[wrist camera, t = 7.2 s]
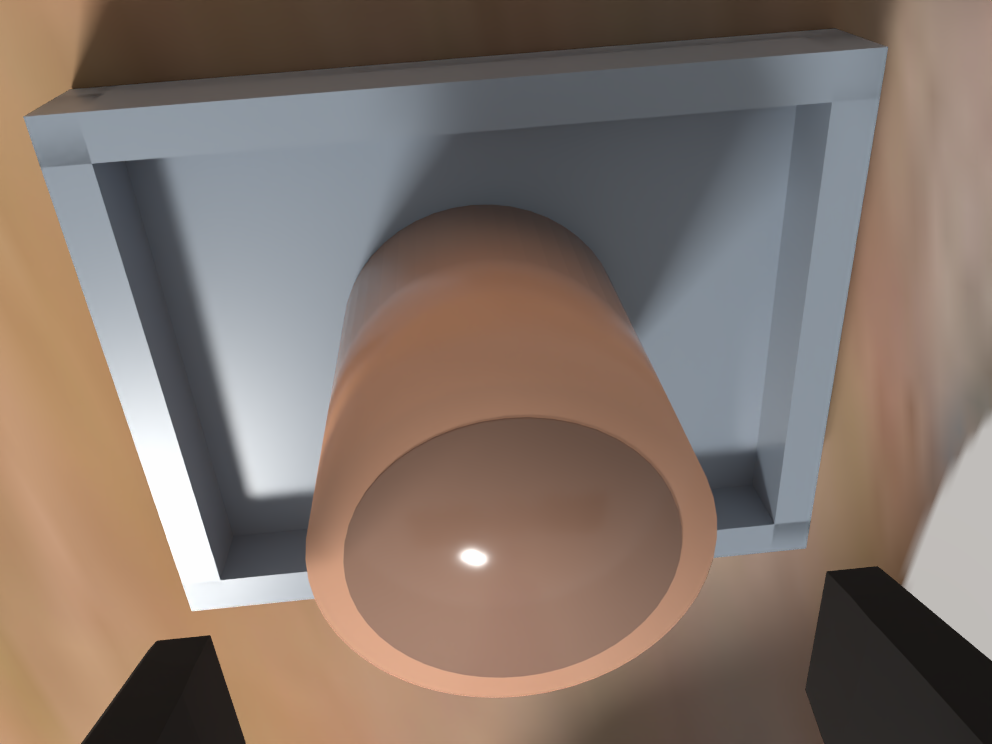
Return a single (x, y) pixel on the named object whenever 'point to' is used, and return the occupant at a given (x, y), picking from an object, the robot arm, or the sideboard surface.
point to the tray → (449, 184)
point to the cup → (500, 466)
